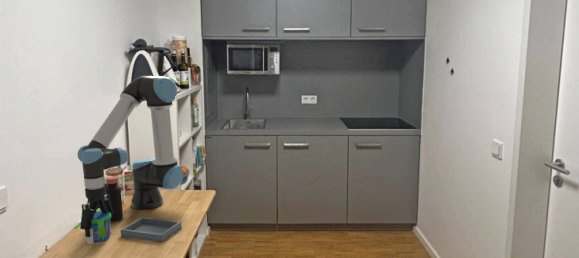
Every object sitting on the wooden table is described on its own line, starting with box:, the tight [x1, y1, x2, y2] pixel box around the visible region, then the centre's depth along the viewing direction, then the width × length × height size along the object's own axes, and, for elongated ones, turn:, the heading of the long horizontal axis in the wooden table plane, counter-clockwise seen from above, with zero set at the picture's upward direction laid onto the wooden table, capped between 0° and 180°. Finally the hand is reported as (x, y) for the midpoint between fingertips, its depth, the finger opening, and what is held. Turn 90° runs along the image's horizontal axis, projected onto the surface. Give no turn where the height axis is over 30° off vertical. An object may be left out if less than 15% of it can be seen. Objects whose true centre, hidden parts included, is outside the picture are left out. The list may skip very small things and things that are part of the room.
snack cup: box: [91, 211, 111, 243], centre depth 186 cm, size 16×10×10 cm
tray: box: [120, 216, 183, 243], centre depth 193 cm, size 15×20×3 cm
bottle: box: [105, 175, 124, 223], centre depth 207 cm, size 7×7×20 cm
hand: (99, 238), depth 187 cm, fingers closed on snack cup, 10 cm apart
